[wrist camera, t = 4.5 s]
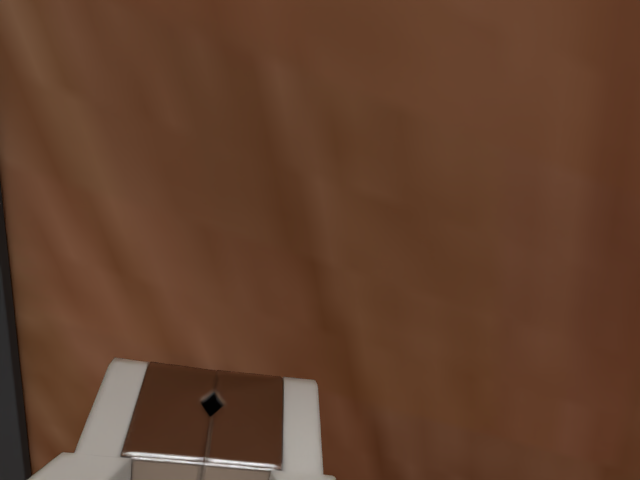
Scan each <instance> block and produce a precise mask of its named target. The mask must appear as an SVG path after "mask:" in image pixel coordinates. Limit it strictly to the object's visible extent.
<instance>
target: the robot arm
mask: <svg viewBox="0 0 640 480" xmlns="http://www.w3.org/2000/svg"><path fill="white" fill-rule="evenodd" d="M27 480H336V478H335V477H334V476H331V475H323V461H322V445H321V428H320V412H319V396H318V385H317V383H316V381H315V380H309V379H300V378H290V377H283V378H282V377H280V376H270V375H260V374H251V373H241V372H231V371H221V370H217V371H216V370H208V369H201V368H194V367H186V366H179V365H172V364H164V363H157V362H144V361H137V360H130V359H123V358H116V357H115V358H114V359H113V360H112V362H111V363H110V364H109V365H108V368H107V371H106V373H105V376H104V378H103V381H102V383H101V386H100V388H99V391H98V393H97V396H96V399H95V401H94V404H93V406H92V409H91V411H90V414H89V416H88V419H87V421H86V424H85V426H84V429H83V432H82V434H81V437H80V439H79V442H78V444H77V447H76V449H75V452H74V453H67V452H62V453H61V454H59V455H58V456H57V457H56V458H54V459H53V460H52V461H50V462H49V463H48V464H47V465H45V466H44V467H43V468H41V469H40V470H39V471H38V472H36V473H35V474H34V475H32V476H31V477H30V478H29V479H27Z"/></svg>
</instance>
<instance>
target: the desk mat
mask: <svg viewBox="0 0 640 480" xmlns="http://www.w3.org/2000/svg"><path fill="white" fill-rule="evenodd" d="M30 477H31V468H30V459H29V449H28V440H27V430H26V421H25V411H24V402H23V392H22V383H21V373H20V364H19V354H18V345H17V336H16V326H15V317H14V307H13V298H12V288H11V279H10V269H9V260H8V250H7V241H6V231H5V222H4V212H3V203H2V194H1V184H0V480H27V479H29V478H30Z"/></svg>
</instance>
